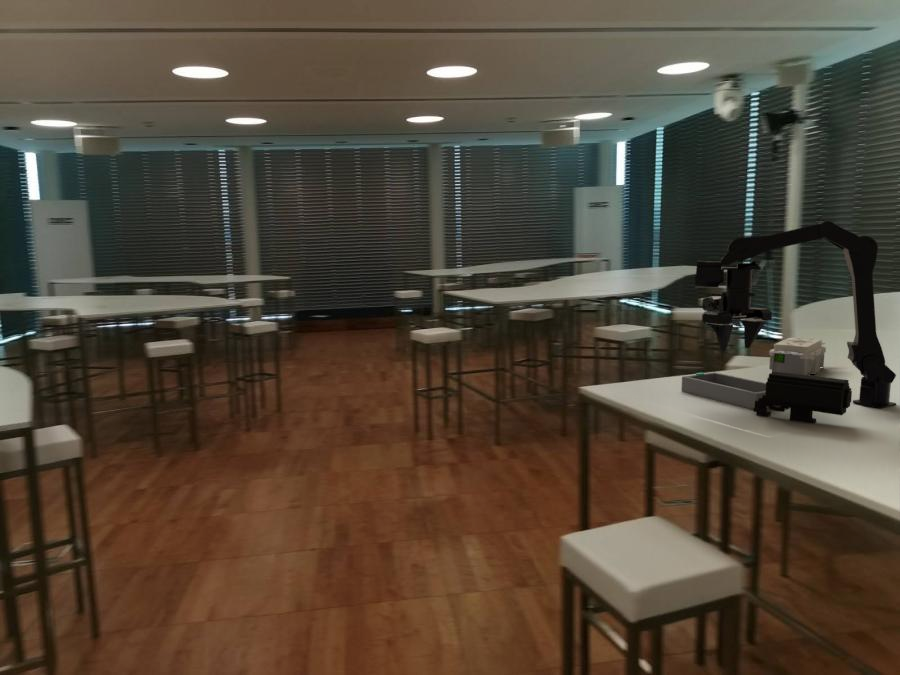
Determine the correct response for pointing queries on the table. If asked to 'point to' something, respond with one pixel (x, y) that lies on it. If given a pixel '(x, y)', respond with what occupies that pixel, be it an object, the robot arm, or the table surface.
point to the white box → (797, 356)
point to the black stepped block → (804, 396)
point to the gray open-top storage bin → (725, 388)
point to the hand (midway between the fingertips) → (735, 349)
